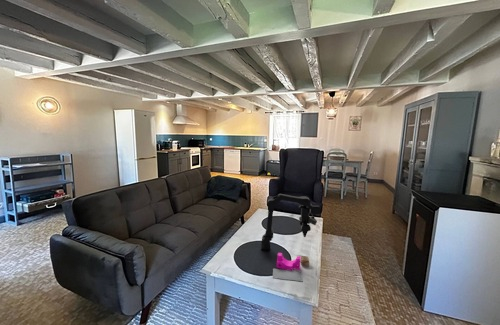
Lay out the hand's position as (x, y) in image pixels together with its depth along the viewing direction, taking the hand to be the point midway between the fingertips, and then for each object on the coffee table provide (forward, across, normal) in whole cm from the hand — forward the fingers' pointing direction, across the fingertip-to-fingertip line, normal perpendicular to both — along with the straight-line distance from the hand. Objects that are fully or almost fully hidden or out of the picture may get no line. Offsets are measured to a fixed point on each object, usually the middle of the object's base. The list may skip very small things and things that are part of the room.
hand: (303, 234), depth 153 cm
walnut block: (+15, -13, 0) cm, 20 cm away
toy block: (+16, -19, +12) cm, 27 cm away
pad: (+15, -27, +13) cm, 34 cm away
